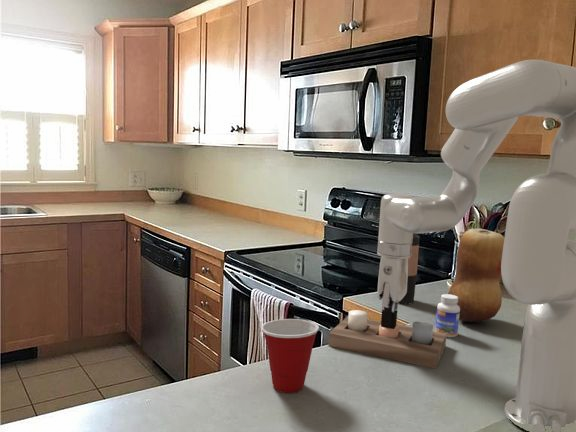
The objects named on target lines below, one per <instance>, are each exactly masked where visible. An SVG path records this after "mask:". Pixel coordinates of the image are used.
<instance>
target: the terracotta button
mask: <svg viewBox="0 0 576 432" xmlns="http://www.w3.org/2000/svg"><path fill="white" fill-rule="evenodd" d="M398 332H399V327H398V326H396V327H395V328H394V329H391V328H386V327H381V325H380V326H379V336H384V337H389V338H394V339H397V338H398Z"/></svg>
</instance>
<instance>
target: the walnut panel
mask: <svg viewBox="0 0 576 432" xmlns="http://www.w3.org/2000/svg"><path fill="white" fill-rule="evenodd" d="M348 317H349V315H347V316H346V317H345V318H344V319H343V320H342V321H340V323H338V324H337V325H336V326H335V327H334V328H333V329H332V330H331V331H329V332H328V346H329V347H333V348H339V349H342V350H348V351H353V352H355V353H356V352H358V353H362V354H366V355H371V356H376V357H379V358H380V357H381V358H384V359H390V360H394V361H399V362H403V363H409V364H414V365H419V366H422V367H427V368H432V369H437V367H438V364H439V362H440V360H441V358H442V355H443V353H444V351H445V348H446V346H447V345H446V344H447V337H446V335H447V334H445V333H440V332H435V330H433V331H432V343H431V345H425V344H420V343H414V342H412V341H411V338H412V326H406V325H400V324H396V326H398V327H399V332H398V338H397V339H394V338H389V337H384V336H379V326H380V325H381V321H378V320H374V319H370V318H369V319H368V318H367V330H366V332H358V331H353V330H348Z"/></svg>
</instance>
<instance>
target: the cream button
mask: <svg viewBox="0 0 576 432" xmlns="http://www.w3.org/2000/svg"><path fill="white" fill-rule="evenodd" d="M348 316H349V317H348V330H353V331H358V332H366V330H367V319H368V312H366V311H364V310H359V309H354V310H353V309H352V310H350V311H348Z"/></svg>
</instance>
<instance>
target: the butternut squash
mask: <svg viewBox="0 0 576 432" xmlns="http://www.w3.org/2000/svg"><path fill="white" fill-rule="evenodd" d="M504 238H505V235H502V234H501V233H498V232H495V231H492V230H488V229H484V228H480V227H479V228H470V229H467V230H466V231H465V232H463V234H462V235H461V238H460V241H459V243H458V244H459V245H458V249H457V253H456V265H455V277H454V280H453V282H452V284H451V285H450V287H449V291H448V293H447V294H451V295H455V296H457V297H458V303H457V305H458V306H459V307H460V315H459V320H461V321H462V322H465V323H474V324H475V323H478V324H479V323H483V322H485V321H489V320H490V319H493V318H494V317H495V316H496V315H497V314H498V312H499V311H500V309H501V307H502V302H503V299H502V298H503V297H502V289H501V285H500V278H501V276H502V275H501V261H502V253H503V245H504Z"/></svg>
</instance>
